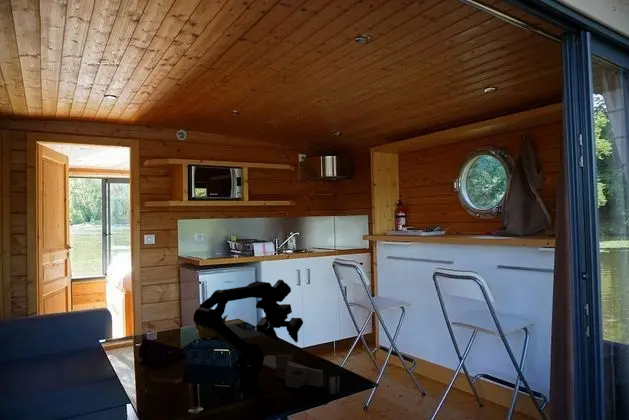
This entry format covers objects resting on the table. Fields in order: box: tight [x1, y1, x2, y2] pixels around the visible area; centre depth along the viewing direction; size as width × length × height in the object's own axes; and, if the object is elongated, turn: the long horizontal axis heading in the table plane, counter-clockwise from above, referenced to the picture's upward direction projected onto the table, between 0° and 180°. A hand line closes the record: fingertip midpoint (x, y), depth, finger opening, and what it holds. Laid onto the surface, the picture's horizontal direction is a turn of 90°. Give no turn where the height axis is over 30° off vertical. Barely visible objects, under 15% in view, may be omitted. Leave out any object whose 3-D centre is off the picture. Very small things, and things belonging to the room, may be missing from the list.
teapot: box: [194, 315, 229, 340], centre depth 228 cm, size 14×13×10 cm
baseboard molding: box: [262, 354, 326, 375], centre depth 181 cm, size 31×3×12 cm
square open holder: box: [284, 369, 308, 389], centre depth 159 cm, size 8×6×4 cm
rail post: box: [275, 353, 289, 380], centre depth 170 cm, size 3×3×8 cm
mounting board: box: [288, 364, 324, 388], centre depth 163 cm, size 2×14×6 cm, turn 60°
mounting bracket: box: [138, 337, 185, 365], centre depth 194 cm, size 9×8×18 cm
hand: (287, 341), depth 174 cm, fingers open, 9 cm apart
